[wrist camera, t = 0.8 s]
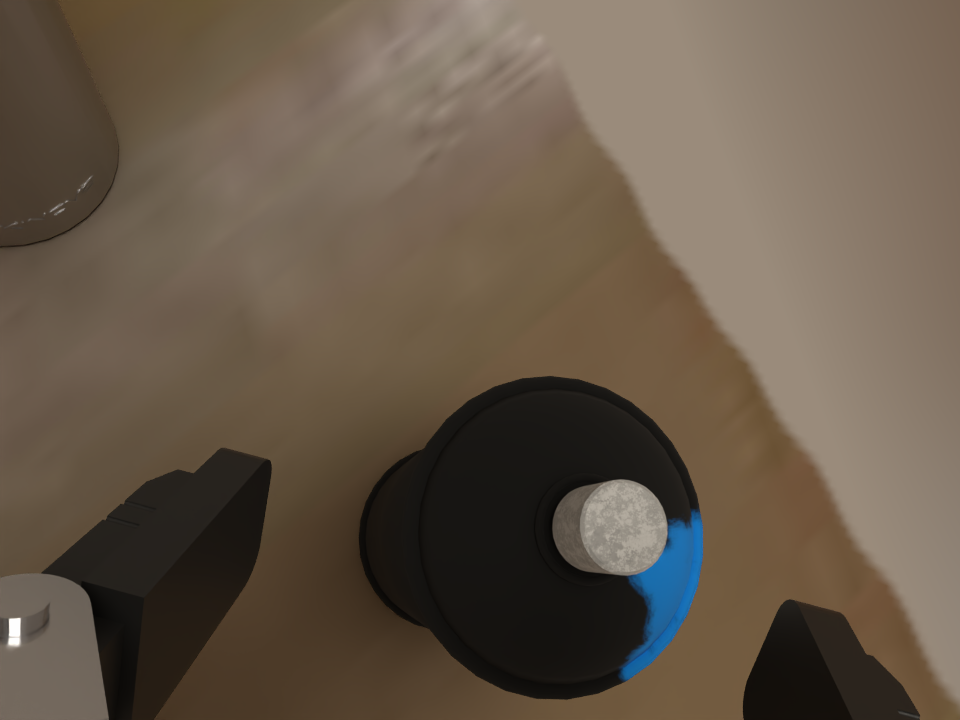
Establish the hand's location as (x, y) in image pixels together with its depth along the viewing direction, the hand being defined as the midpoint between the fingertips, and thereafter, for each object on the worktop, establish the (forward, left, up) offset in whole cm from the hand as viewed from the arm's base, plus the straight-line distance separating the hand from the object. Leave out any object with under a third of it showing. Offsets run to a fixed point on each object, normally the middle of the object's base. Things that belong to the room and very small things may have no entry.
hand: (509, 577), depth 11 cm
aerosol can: (+2, +3, -23) cm, 24 cm away
